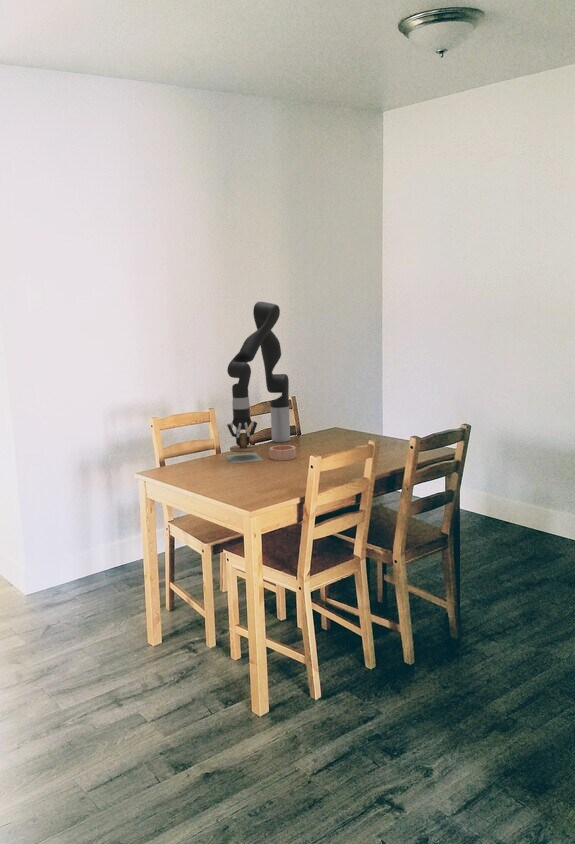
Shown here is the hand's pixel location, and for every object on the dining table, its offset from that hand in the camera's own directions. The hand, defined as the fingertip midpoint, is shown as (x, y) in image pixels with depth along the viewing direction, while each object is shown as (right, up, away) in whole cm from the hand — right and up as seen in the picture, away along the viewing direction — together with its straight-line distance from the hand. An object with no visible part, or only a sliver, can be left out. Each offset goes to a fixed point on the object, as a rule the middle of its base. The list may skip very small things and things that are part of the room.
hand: (243, 444), depth 318 cm
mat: (0, -6, +1) cm, 6 cm away
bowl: (+18, -6, -2) cm, 19 cm away
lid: (0, -2, 0) cm, 2 cm away
